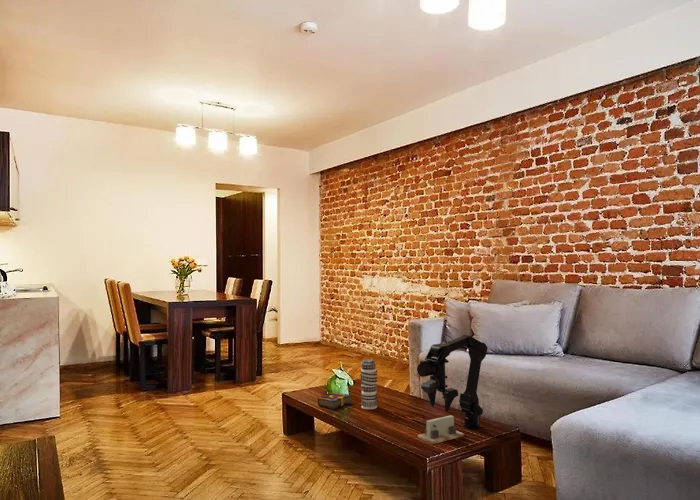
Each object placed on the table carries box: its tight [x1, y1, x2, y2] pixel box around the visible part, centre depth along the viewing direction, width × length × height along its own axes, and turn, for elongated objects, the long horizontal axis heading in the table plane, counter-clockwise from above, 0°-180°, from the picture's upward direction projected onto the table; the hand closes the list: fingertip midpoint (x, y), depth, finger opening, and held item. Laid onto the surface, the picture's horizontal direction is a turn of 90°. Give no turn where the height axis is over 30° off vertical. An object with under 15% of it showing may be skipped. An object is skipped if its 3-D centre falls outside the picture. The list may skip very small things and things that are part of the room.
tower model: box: [359, 358, 378, 410], centre depth 269 cm, size 9×9×25 cm
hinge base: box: [417, 425, 465, 445], centre depth 223 cm, size 18×10×4 cm, turn 121°
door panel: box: [425, 414, 455, 438], centre depth 222 cm, size 14×3×7 cm, turn 121°
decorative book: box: [317, 392, 352, 410], centre depth 276 cm, size 11×16×5 cm
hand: (439, 408), depth 224 cm, fingers open, 9 cm apart
